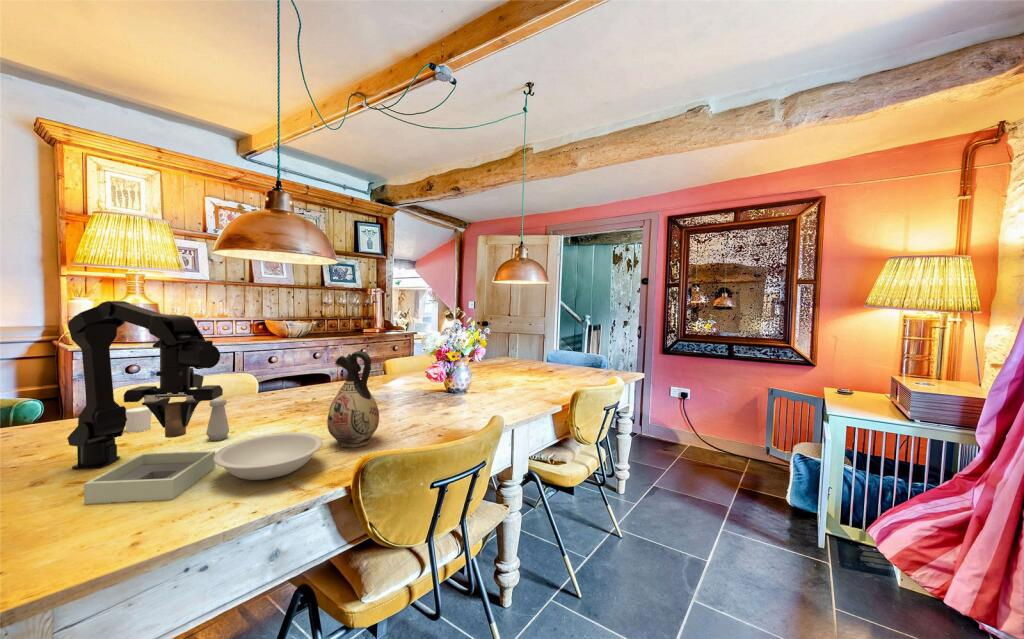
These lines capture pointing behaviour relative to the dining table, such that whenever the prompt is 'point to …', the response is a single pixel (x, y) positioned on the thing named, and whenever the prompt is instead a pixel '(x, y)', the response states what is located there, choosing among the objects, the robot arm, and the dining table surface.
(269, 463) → the soup bowl
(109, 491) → the tray
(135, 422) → the white cube
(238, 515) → the dining table surface
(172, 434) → the peg
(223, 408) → the salt shaker
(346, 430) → the ceramic jug
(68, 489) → the dining table surface
